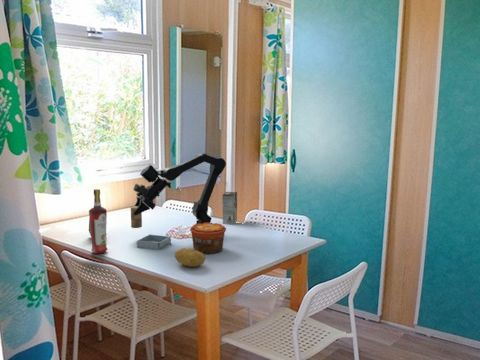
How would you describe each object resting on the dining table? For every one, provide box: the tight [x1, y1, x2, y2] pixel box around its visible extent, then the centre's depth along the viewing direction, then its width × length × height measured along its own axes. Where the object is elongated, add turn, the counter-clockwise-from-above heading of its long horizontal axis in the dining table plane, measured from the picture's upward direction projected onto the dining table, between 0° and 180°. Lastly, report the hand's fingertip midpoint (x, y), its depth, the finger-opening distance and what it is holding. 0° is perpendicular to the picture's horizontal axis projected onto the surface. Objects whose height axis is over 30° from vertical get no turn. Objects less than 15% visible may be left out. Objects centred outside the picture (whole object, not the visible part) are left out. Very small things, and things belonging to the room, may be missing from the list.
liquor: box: [88, 188, 108, 255], centre depth 211 cm, size 7×7×28 cm
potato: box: [174, 247, 206, 268], centre depth 197 cm, size 9×13×7 cm
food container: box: [189, 222, 227, 255], centre depth 217 cm, size 16×16×11 cm
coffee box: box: [222, 191, 238, 225], centre depth 266 cm, size 9×6×16 cm
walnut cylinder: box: [130, 205, 143, 229], centre depth 231 cm, size 5×5×10 cm
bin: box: [136, 234, 172, 251], centre depth 224 cm, size 11×11×3 cm
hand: (133, 213), depth 231 cm, fingers closed on walnut cylinder, 5 cm apart
